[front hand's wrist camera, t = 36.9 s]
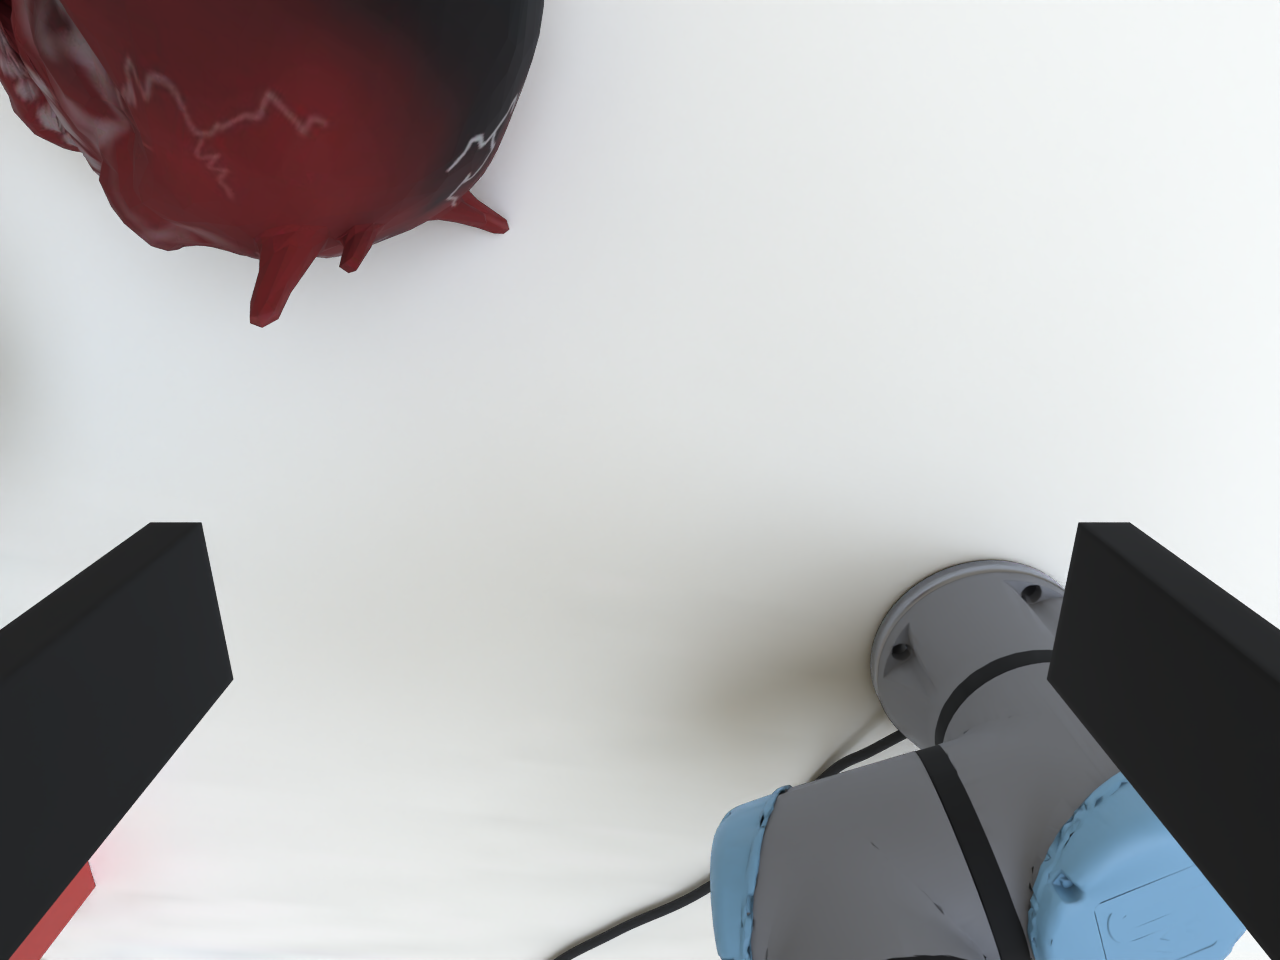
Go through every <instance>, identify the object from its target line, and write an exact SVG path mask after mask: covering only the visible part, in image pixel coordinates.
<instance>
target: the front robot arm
mask: <svg viewBox="0 0 1280 960" xmlns="http://www.w3.org/2000/svg"><path fill="white" fill-rule="evenodd" d="M870 667H871V677H872V682H873V685H874V688H875V691H876V693H877V696H878V698H879V700H880V702H881V704H882V707H883V709H884V711H885V713H886V714H887V716H888V718H889V719H890V721H891V722H892V723H893V724H894V726H895V727H896V728H897V729H898V731H896V732H894V733H892V734H890V735H889V736H887V737H885V738H883V739H881V740H879V741H877V742H876V743H874V744H872V745H870V746H868V747H866V748H864V749H862V750H859V751H857V752H855V753H852V754H850V755H848V756H846V757H844V758H842V759H840V760H839V761H837V762H836V763H834V764H833V765H832V766H830V767H829V768H828V769H827V770H826V771H824V772H823V773H822V774H821V775H820V776H819V777H818V778H817V779H816V780H815V781H812V782H809V783H805V784H802V785H798V786H795V787H792V786H790V785H787V786H783V787H780V788H778V789H777V790H776V791H774V792H773V793H772V794H771V795H768V796H765V797H762V798H759V799H756V800H754V801H751V802H748V803H745V804H742V805H739V806H737V807H735V808H734V809H732V810H731V811H729V812H728V813H727V814H726V815H725V817H724V818H723V820H722V821H721V823H720V825H719V827H718V828H717V830H716V833H715V836H714V840H713V845H712V851H711V862H710V881H709V882H707V883H705V884H704V885H702V886H700V887H699V888H697V889H695V890H694V891H692V892H690V893H688V894H686V895H684V896H682V897H680V898H678V899H676V900H674V901H672V902H670V903H667V904H665V905H663V906H660V907H658V908H655V909H653V910H651V911H648V912H646V913H643V914H641V915H639V916H636V917H634V918H632V919H630V920H627V921H625V922H623V923H621V924H619V925H617V926H615V927H613V928H611V929H609V930H608V931H606V932H604V933H602V934H599V935H597V936H595V937H593V938H591V939H589V940H587V941H585V942H583V943H581V944H579V945H577V946H575V947H573V948H572V949H570V950H568V951H566V952H565V953H563V954H562V955H560V956H558V957H557V958H556V959H554V960H571V959H573V958H575V957H577V956H579V955H581V954H582V953H584V952H586V951H588V950H591V949H593V948H595V947H597V946H599V945H601V944H603V943H605V942H607V941H609V940H611V939H613V938H615V937H617V936H619V935H621V934H623V933H625V932H627V931H629V930H631V929H633V928H636V927H638V926H640V925H642V924H645V923H647V922H650V921H652V920H654V919H657V918H659V917H662V916H664V915H667V914H669V913H671V912H674V911H676V910H678V909H680V908H682V907H684V906H686V905H688V904H690V903H692V902H694V901H696V900H698V899H699V898H701V897H703V896H704V895H706V894H708V893H709V892H711V906H712V917H713V927H714V934H715V941H716V947H717V952H718V955H719V956H720V957H721V959H722V960H1224V959H1225V958H1226V957H1227V956H1228V955H1229V954H1230V952H1231V951H1232V948H1233V946H1234V944H1235V943H1236V942H1237V940H1238V939H1239V938H1240V937H1241V936H1242V935H1243V934H1244V933H1245V931H1246V929H1247V930H1248V931H1249V933H1250V934H1251V935H1252V936H1253V938H1254V939H1255V940H1256V941H1257V943H1258V944H1259V945H1260V946H1261V948H1262V949H1263V950H1264V951H1265V952H1266V954H1267V955H1268V956H1269V957H1270V959H1271V960H1280V630H1279V629H1278V628H1276V627H1275V626H1274V625H1272V624H1271V623H1269V622H1268V621H1267V620H1265V619H1264V618H1262V617H1261V616H1260V615H1258V614H1257V613H1255V612H1254V611H1253V610H1251V609H1250V608H1248V607H1247V606H1246V605H1244V604H1243V603H1242V602H1240V601H1239V600H1237V599H1236V598H1235V597H1233V596H1232V595H1230V594H1229V593H1228V592H1226V591H1225V590H1223V589H1222V588H1221V587H1219V586H1218V585H1216V584H1215V583H1214V582H1212V581H1211V580H1209V579H1208V578H1207V577H1205V576H1204V575H1202V574H1201V573H1200V572H1198V571H1197V570H1195V569H1194V568H1193V567H1191V566H1190V565H1188V564H1187V563H1186V562H1184V561H1183V560H1181V559H1180V558H1179V557H1177V556H1176V555H1174V554H1173V553H1172V552H1170V551H1169V550H1167V549H1166V548H1165V547H1163V546H1162V545H1160V544H1159V543H1158V542H1156V541H1155V540H1153V539H1152V538H1151V537H1149V536H1148V535H1146V534H1145V533H1144V532H1142V531H1141V530H1139V529H1138V528H1137V527H1135V526H1134V525H1133V524H1131V523H1130V522H1079V523H1078V527H1077V532H1076V537H1075V542H1074V547H1073V552H1072V557H1071V562H1070V567H1069V572H1068V577H1067V582H1066V586H1065V589H1064V588H1063V587H1062V586H1061V585H1060V584H1058V583H1057V582H1056V581H1055V580H1054V579H1052V578H1051V577H1050V576H1048V575H1046V574H1044V573H1043V572H1041V571H1039V570H1037V569H1034V568H1032V567H1029V566H1026V565H1023V564H1019V563H1015V562H1009V561H998V560H986V561H975V562H968V563H964V564H960V565H956V566H953V567H950V568H947V569H944V570H942V571H940V572H937V573H935V574H933V575H931V576H929V577H927V578H926V579H924V580H923V581H921V582H919V583H918V584H916V585H915V586H914V587H912V588H911V589H910V590H909V591H907V592H906V593H905V594H904V595H903V596H902V597H901V598H900V599H899V600H898V601H897V602H896V603H895V604H894V605H893V607H892V608H891V609H890V610H889V612H888V613H887V615H886V616H885V618H884V619H883V621H882V623H881V625H880V627H879V629H878V631H877V634H876V636H875V639H874V643H873V646H872V652H871V662H870ZM232 680H233V675H232V670H231V665H230V660H229V655H228V650H227V645H226V641H225V636H224V631H223V626H222V621H221V616H220V611H219V606H218V601H217V596H216V591H215V586H214V582H213V577H212V572H211V567H210V562H209V557H208V552H207V547H206V542H205V537H204V532H203V527H202V523H201V522H150V523H149V524H147V525H146V526H145V527H143V528H142V529H141V530H139V531H138V532H136V533H135V534H134V535H132V536H131V537H129V538H128V539H127V540H125V541H124V542H122V543H121V544H120V545H118V546H117V547H115V548H114V549H113V550H111V551H110V552H108V553H107V554H106V555H104V556H103V557H101V558H100V559H99V560H97V561H96V562H94V563H93V564H92V565H90V566H89V567H87V568H86V569H85V570H83V571H82V572H80V573H79V574H78V575H76V576H75V577H73V578H72V579H71V580H69V581H68V582H66V583H65V584H64V585H62V586H61V587H59V588H58V589H57V590H55V591H54V592H52V593H51V594H50V595H48V596H47V597H45V598H44V599H43V600H41V601H40V602H38V603H37V604H36V605H34V606H33V607H32V608H30V609H29V610H27V611H26V612H25V613H23V614H22V615H20V616H19V617H18V618H16V619H15V620H13V621H12V622H11V623H9V624H8V625H6V626H5V627H4V628H2V629H1V630H0V960H9V959H10V957H11V956H12V955H13V954H14V952H15V951H16V950H17V949H18V948H19V946H20V945H21V944H22V943H23V941H24V940H25V939H26V938H27V936H28V935H29V934H30V933H31V931H32V930H33V929H34V928H35V926H36V925H37V924H38V923H39V921H40V920H41V919H42V918H43V916H44V915H45V914H46V913H47V911H48V910H49V909H50V908H51V906H52V905H53V904H54V903H55V901H56V900H57V899H58V898H59V896H60V895H61V894H62V893H63V891H64V890H65V889H66V888H67V886H68V885H69V884H70V883H71V881H72V880H73V879H74V878H75V876H76V875H77V874H78V873H79V871H80V870H81V869H82V868H83V866H84V865H85V864H86V863H87V861H88V860H89V859H90V858H91V856H92V855H93V854H94V853H95V851H96V850H97V849H98V848H99V846H100V845H101V844H102V843H103V841H104V840H105V839H106V838H107V836H108V835H109V834H110V833H111V831H112V830H113V829H114V828H115V826H116V825H117V824H118V823H119V821H120V820H121V819H122V818H123V816H124V815H125V814H126V813H127V812H128V810H129V809H130V808H131V807H132V805H133V804H134V803H135V802H136V800H137V799H138V798H139V797H140V795H141V794H142V793H143V792H144V790H145V789H146V788H147V787H148V785H149V784H150V783H151V782H152V780H153V779H154V778H155V777H156V775H157V774H158V773H159V772H160V770H161V769H162V768H163V767H164V765H165V764H166V763H167V762H168V760H169V759H170V758H171V757H172V755H173V754H174V753H175V752H176V750H177V749H178V748H179V747H180V745H181V744H182V743H183V742H184V740H185V739H186V738H187V737H188V735H189V734H190V733H191V732H192V730H193V729H194V728H195V727H196V725H197V724H198V723H199V722H200V720H201V719H202V718H203V717H204V715H205V714H206V713H207V712H208V710H209V709H210V708H211V707H212V705H213V704H214V703H215V702H216V700H217V699H218V698H219V697H220V695H221V694H222V693H223V692H224V690H225V689H226V688H227V687H228V685H229V684H230V683H231V682H232ZM906 738H908V739H909V740H910V741H912V742H913V743H914V744H915V745H916V746H918V747H919V748H920V749H921V750H918V751H913V752H910V753H906V754H903V755H900V756H896V757H893V758H889V759H886V760H883V761H879V762H876V763H873V764H869V765H866V766H863V767H859V768H856V769H852V770H849V771H846V772H842V773H839V772H841V771H842V770H844V769H845V768H847V767H849V766H851V765H853V764H856V763H858V762H860V761H863V760H865V759H867V758H870V757H872V756H874V755H875V754H877V753H879V752H881V751H883V750H885V749H887V748H889V747H891V746H893V745H895V744H896V743H898V742H900V741H902V740H904V739H906ZM838 773H839V774H838Z"/></svg>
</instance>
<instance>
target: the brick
mask: <svg viewBox="0 0 1280 960" xmlns="http://www.w3.org/2000/svg"><path fill="white" fill-rule="evenodd" d="M94 888H95V883H94V880H93V877H92V873H91V870H90V867H89V864H88V861H87V863H86V864H85V865H84V866H83V868H82V869H81V870H80V871H79V873H78V874H77V875H76V876H75V878H74V879H73V880H72V881H71V883H70V884H69V885H68V886H67V888H66V889H65V890H64V891H63V893H62V894H61V895H60V896H59V898H58V899H57V900H56V901H55V903H54V904H53V905H52V906H51V908H50V909H49V910H48V911H47V913H46V914H45V915H44V916H43V918H42V919H41V920H40V921H39V923H38V924H37V925H36V926H35V928H34V929H33V930H32V931H31V933H30V934H29V935H28V936H27V938H26V939H25V940H24V941H23V943H22V944H21V945H20V946H19V948H18V949H17V950H16V951H15V952H14V954H13V955H12V956H11V957H10V959H9V960H40V959H41V957H42V956H43V955H44V953H45V952H46V951H47V949H48V948H49V947H50V945H51V944H52V943H53V942H54V940H55V939H56V938H57V936H58V935H59V934H60V932H61V931H62V930H63V928H64V927H65V926H66V924H67V923H68V922H69V921H70V919H71V918H72V917H73V915H74V914H75V913H76V911H77V910H78V909H79V907H80V906H81V905H82V903H83V902H84V901H85V900H86V898H87V897H88V896H89V894H90V893H91V892H92V890H93V889H94Z"/></svg>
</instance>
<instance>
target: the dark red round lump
mask: <svg viewBox="0 0 1280 960" xmlns="http://www.w3.org/2000/svg"><path fill="white" fill-rule="evenodd" d="M543 7H544V0H0V82H1V83H2V85H3V87H4V89H5V90H6V92H7V94H8V95H9V98H10V102H11V105H12V108H13V110H14V112H15V113H16V115H17V116H18V117H19V118H20V119H21V120H22V121H23V122H24V123H25V124H26V125H27V126H28V127H29V129H30V130H31V131H32V132H33V133H34V134H35V135H37V136H39V137H41V138H43V139H45V140H47V141H49V142H51V143H54V144H56V145H58V146H60V147H62V148H65V149H68V150H72V151H77V152H82V153H83V156H84V157H85V158H86V160H87V161H88V163H89V165H90V166H91V168H92V169H93V171H94V172H96V173H97V174H98V175H99V176H100V177H99V181H100V183H101V186H102V188H103V190H104V192H105V194H106V196H107V198H108V201H109V203H110V205H111V207H112V208H113V210H114V211H115V212H116V213H117V215H118V216H119V217H120V219H121V220H122V221H123V223H124V224H125V225H127V226H128V227H129V228H130V229H131V230H132V231H134V232H135V233H136V234H137V235H138V236H140V237H141V238H142V239H143V240H144V241H146V242H147V243H148V244H149V245H151V246H153V247H156V248H159V249H163V250H166V251H171V250H178V249H180V248H182V247H186V246H209V247H214V248H218V249H222V250H226V251H230V252H232V253H235V254H239V255H244V256H248V257H251V258H255V259H260V261H259V273H258V277H257V280H256V284H255V287H254V291H253V295H252V298H251V302H250V323H251V324H254V325H256V326H259V327H262V328H263V327H264V326H266V325H268V324H270V323H272V322H274V321H275V320H277V319H279V317H280V315H281V312H282V310H283V308H284V306H285V304H286V302H287V300H288V297H289V295H290V293H291V292H292V290H293V289H294V287H295V286H296V285H297V283H298V282H299V280H300V279H301V277H302V276H303V275H304V273H305V272H306V270H307V269H308V268H309V266H310V265H311V263H312V262H313V260H314V259H315V258H316V257H321V258H330V257H337V256H342V257H341V261H340V265H339V267H340V268H342V269H343V270H345V271H346V272H348V273H350V272H353V271H356V270H357V268H358V267H359V265H360V264H361V262H362V261H363V259H364V257H365V256H366V254H367V253H368V251H369V250H370V248H371V246H372V245H373V244H375V243H378V242H380V241H383V240H385V239H388V238H391V237H393V236H396V235H398V234H401V233H403V232H406V231H408V230H411V229H413V228H415V227H417V226H418V225H420V224H422V223H424V222H426V221H430V220H444V221H451V222H457V223H461V224H465V225H469V226H473V227H477V228H480V229H483V230H486V231H489V232H492V233H498V234H504V233H505V232H507V231H508V230H509V227H508V224H507V220H506V219H504V218H503V217H502V216H500V215H499V214H497V213H496V212H495V211H493V210H492V209H490V208H489V207H487V206H486V205H484V204H483V203H481V202H480V201H479V200H477V199H476V198H475V197H474V196H473V195H472V194H471V193H470V191H469V189H471V187H472V186H473V185H474V184H475V183H476V182H477V181H478V180H479V179H480V177H481V176H482V175H483V174H484V172H485V171H486V169H487V167H488V166H489V164H490V163H491V161H492V159H493V157H494V155H495V153H496V152H497V150H498V147H499V145H500V143H501V140H502V138H503V136H504V134H505V131H506V129H507V126H508V124H509V121H510V119H511V116H512V113H513V111H514V108H515V106H516V103H517V101H518V98H519V96H520V93H521V91H522V88H523V85H524V83H525V80H526V77H527V74H528V71H529V68H530V65H531V62H532V59H533V55H534V52H535V48H536V45H537V41H538V38H539V34H540V27H541V20H542V14H543Z"/></svg>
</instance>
